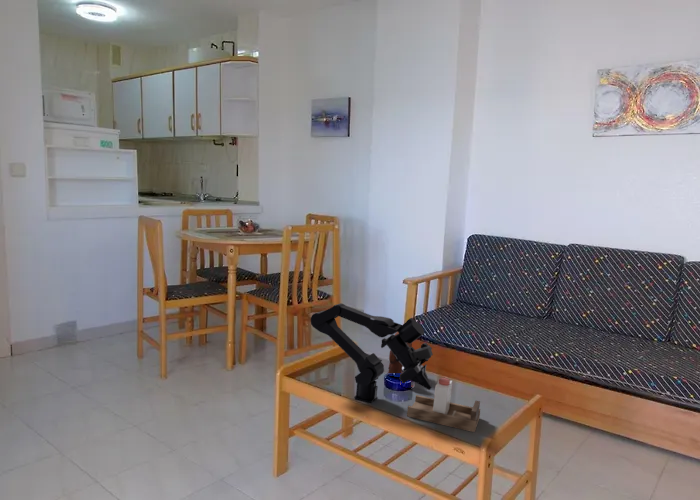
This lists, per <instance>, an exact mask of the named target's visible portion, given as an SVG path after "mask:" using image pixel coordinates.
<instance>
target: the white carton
mask: <svg viewBox="0 0 700 500" xmlns="http://www.w3.org/2000/svg"><path fill="white" fill-rule="evenodd" d="M452 386H453V380H450V379H448V378H445V377H440V378H438V381H437V383H436V384H435V388H434V397H433V399H434V405H433V411H434V412H439V413H443V414H447V413H448V411H449V407H450V402H451V395H452Z"/></svg>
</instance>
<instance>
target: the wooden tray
mask: <svg viewBox="0 0 700 500" xmlns="http://www.w3.org/2000/svg"><path fill="white" fill-rule="evenodd" d="M480 404H481V401H480V400H475V401H474V404H473V405H472V406H468V405H465V404H460V403H455V402H451V401H450V407H449V411H448V413H447V414H443V413H439V412H434V411H433V405H434V397H433V398H432V397H428V396H424V395H419V394H416V395H415V400H414V402H413V404H412V405H408V406H407V411H406V412H407V413H406V417H408V418H413V419H415V420H416V419H417V420H421V421H424V422H429V423H433V424H438V425H442V426H446V427H451V428H456V429H459V430H463V431H467V432H472V433H475V432H476V429H477V426H478V423H479V421H480V418H481V417H480V416H481V408H480V407H481V405H480Z"/></svg>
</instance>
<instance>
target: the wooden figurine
mask: <svg viewBox="0 0 700 500" xmlns="http://www.w3.org/2000/svg"><path fill="white" fill-rule="evenodd" d="M398 334H399V332H396V333H394V335H395V336H396V335H398ZM407 345H408V346H409V347H412V345H413V342H412V343H408V342H407ZM389 350H390V349H389ZM388 359H389V365H388V370H387V371H388V372H387V374H388V373H402V367H403V366H402V364H401V363H400V362H399V361H398V362H397V361H396V360H395V359H396V356H395V355H394V354H393V352H392V351H391V350H390V351H389V357H388Z"/></svg>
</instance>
